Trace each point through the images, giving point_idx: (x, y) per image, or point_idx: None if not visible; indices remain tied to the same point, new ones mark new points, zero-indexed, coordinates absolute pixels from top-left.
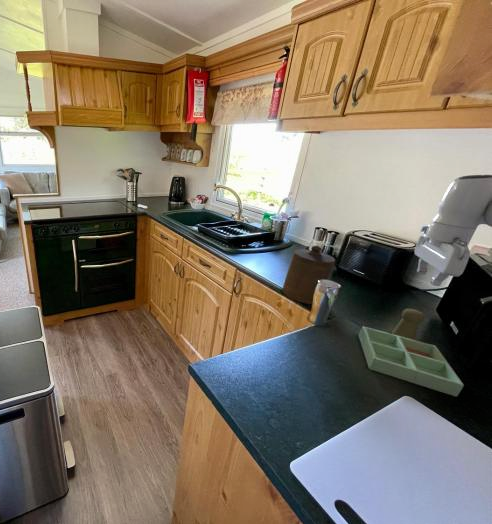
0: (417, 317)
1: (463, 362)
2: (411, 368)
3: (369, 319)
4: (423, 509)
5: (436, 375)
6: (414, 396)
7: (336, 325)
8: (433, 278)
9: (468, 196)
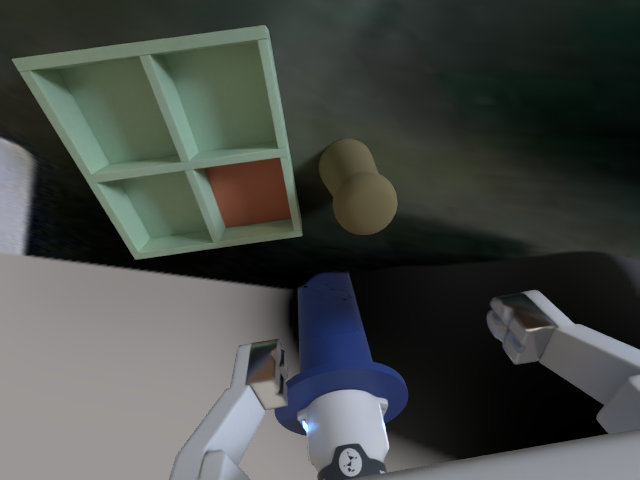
0: (336, 215)
1: (324, 269)
2: (84, 168)
3: (442, 80)
4: None
5: (192, 219)
6: (46, 167)
7: None
8: (257, 383)
9: None
